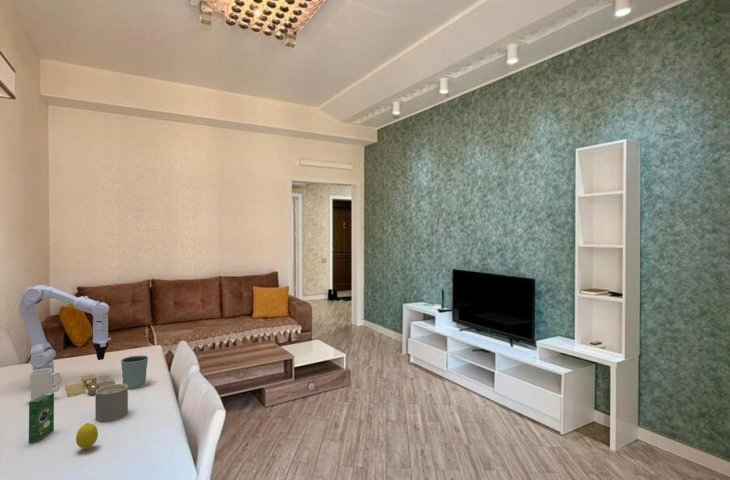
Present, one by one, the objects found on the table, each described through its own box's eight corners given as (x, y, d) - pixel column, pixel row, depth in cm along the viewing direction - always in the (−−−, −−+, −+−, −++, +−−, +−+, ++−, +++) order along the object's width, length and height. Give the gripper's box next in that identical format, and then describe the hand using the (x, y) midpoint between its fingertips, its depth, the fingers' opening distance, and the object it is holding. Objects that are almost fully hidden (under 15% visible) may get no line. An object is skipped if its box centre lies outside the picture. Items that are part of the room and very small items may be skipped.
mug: (28, 406, 152) (28, 375, 152) (31, 400, 157) (31, 370, 157) (61, 400, 158) (61, 370, 157) (62, 394, 163) (62, 365, 163)
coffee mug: (130, 416, 143) (130, 389, 143) (97, 425, 137) (97, 396, 137) (123, 404, 154) (123, 379, 153) (92, 412, 147) (92, 385, 147)
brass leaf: (64, 388, 170) (64, 380, 170) (94, 382, 177) (94, 374, 177) (67, 397, 161) (67, 388, 161) (98, 390, 168) (98, 381, 168)
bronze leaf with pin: (84, 388, 170) (84, 379, 170) (113, 382, 177) (113, 374, 177) (88, 396, 161) (88, 387, 161) (118, 389, 168) (118, 381, 168)
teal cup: (115, 388, 170) (115, 360, 170) (137, 380, 180) (137, 354, 180) (132, 391, 167) (132, 363, 167) (153, 383, 176) (153, 356, 176)
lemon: (83, 444, 124) (83, 419, 124) (101, 443, 124) (101, 418, 124) (71, 454, 118) (71, 427, 118) (91, 453, 119) (91, 427, 119)
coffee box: (45, 430, 133) (45, 392, 133) (54, 430, 133) (54, 391, 133) (27, 443, 125) (27, 402, 125) (37, 442, 125) (37, 401, 125)
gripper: (113, 331, 177) (113, 361, 177) (108, 325, 188) (108, 354, 188) (95, 333, 172) (95, 364, 172) (90, 328, 183) (90, 357, 183)
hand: (100, 359), depth 180 cm, fingers closed
